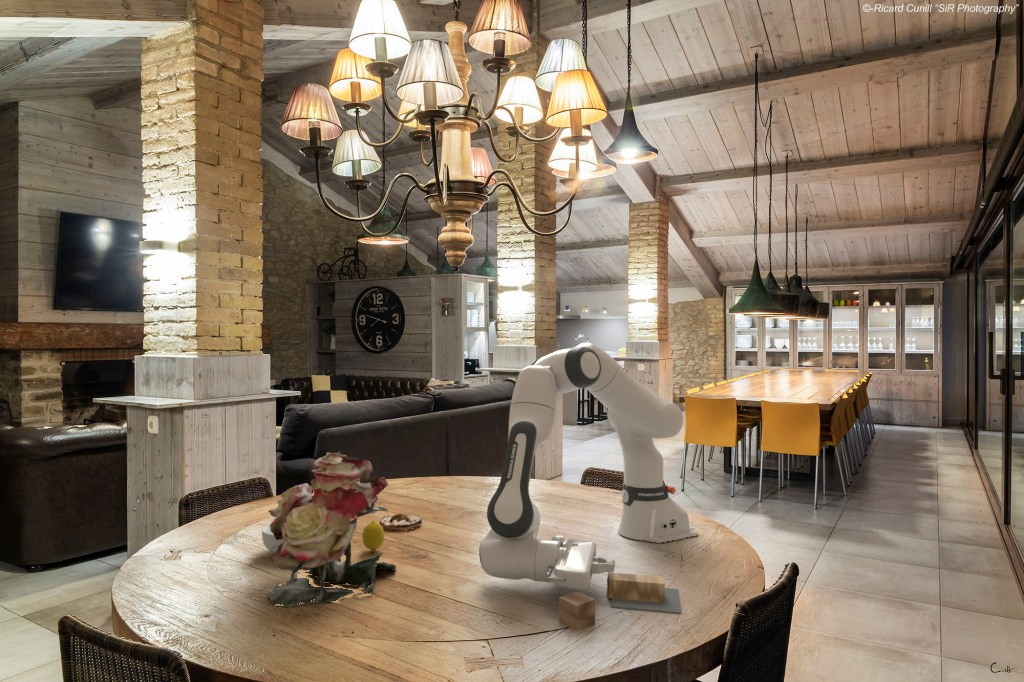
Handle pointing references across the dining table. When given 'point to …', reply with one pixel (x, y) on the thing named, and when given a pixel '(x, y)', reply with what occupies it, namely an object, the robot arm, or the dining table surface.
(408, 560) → the dining table surface
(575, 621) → the walnut cube
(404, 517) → the cream pie
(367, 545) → the lemon
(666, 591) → the felt mat
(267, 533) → the cereal bowl
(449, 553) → the dining table surface
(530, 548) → the robot arm
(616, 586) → the oak block
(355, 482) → the rose bouquet
